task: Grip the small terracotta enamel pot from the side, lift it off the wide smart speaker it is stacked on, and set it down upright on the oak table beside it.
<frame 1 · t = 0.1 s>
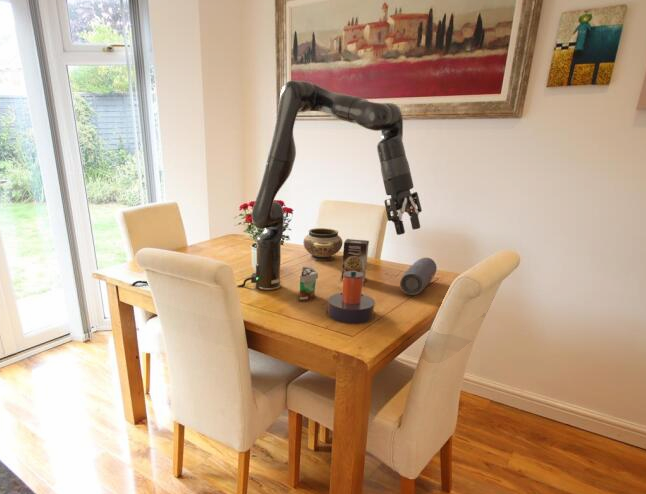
hand: (408, 231, 132), 31 cm above the table, tool tilted 20°, fingers open, 8 cm apart
ceramic bowl: (322, 258, 218), on the table
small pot: (351, 300, 154), point 5 cm above the table, touching wide smart speaker
bluetooth speaker: (417, 289, 177), on the table
coffee box: (353, 279, 189), on the table
wide smart speaker: (350, 314, 156), on the table
food container: (308, 297, 172), on the table
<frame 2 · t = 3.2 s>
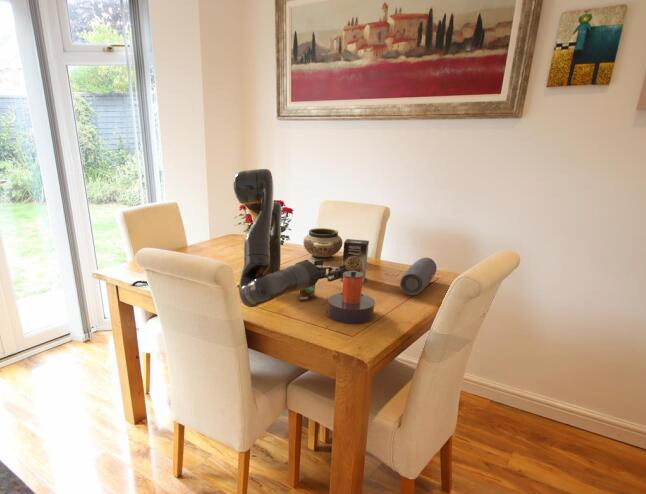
hand: (333, 265, 142), 20 cm above the table, tool horizontal, fingers open, 8 cm apart
nothing on the table moved.
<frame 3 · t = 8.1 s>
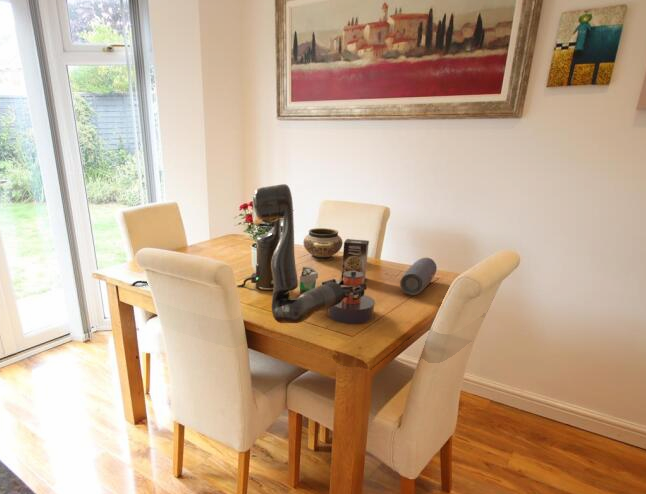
hand: (356, 283, 154), 11 cm above the table, tool horizontal, fingers closed on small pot, 6 cm apart
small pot: (351, 300, 154), point 5 cm above the table, touching gripper, wide smart speaker
everything else where it was.
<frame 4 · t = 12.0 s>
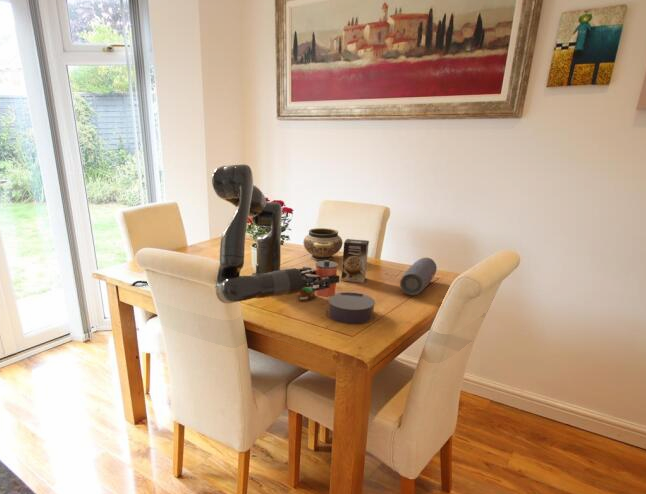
hand: (332, 275, 140), 18 cm above the table, tool horizontal, fingers closed on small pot, 6 cm apart
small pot: (324, 293, 141), point 12 cm above the table, touching gripper
everything else where it was.
when the fingers open (5 cm above the table, at t = 16.1 s): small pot stays where it is, on the table.
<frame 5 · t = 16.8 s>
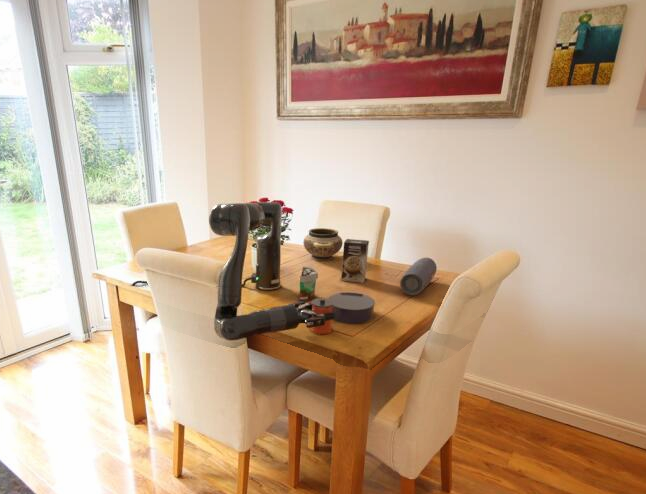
hand: (327, 310, 144), 6 cm above the table, tool horizontal, fingers open, 8 cm apart
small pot: (321, 329, 146), on the table
everything else where it was.
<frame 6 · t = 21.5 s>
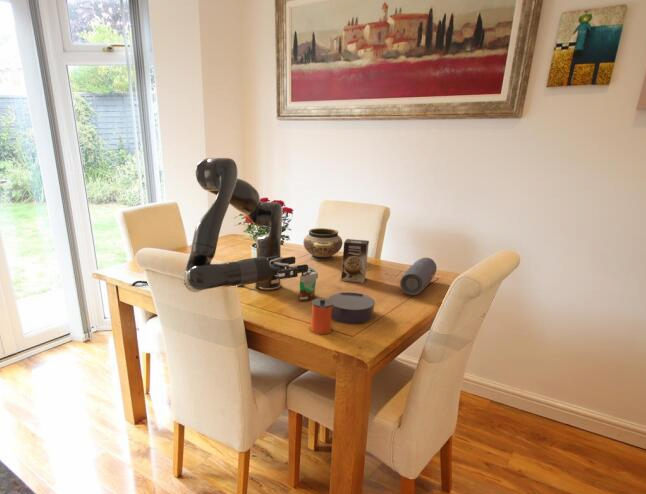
hand: (301, 263, 140), 21 cm above the table, tool horizontal, fingers open, 8 cm apart
nothing on the table moved.
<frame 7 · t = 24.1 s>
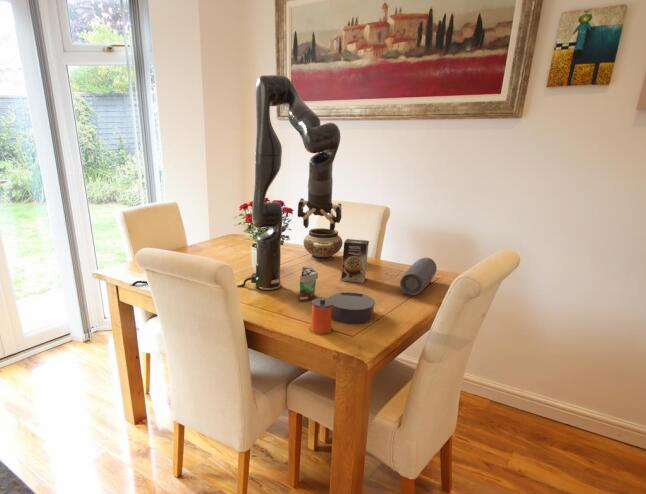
hand: (318, 228, 156), 27 cm above the table, tool tilted 25°, fingers open, 8 cm apart
nothing on the table moved.
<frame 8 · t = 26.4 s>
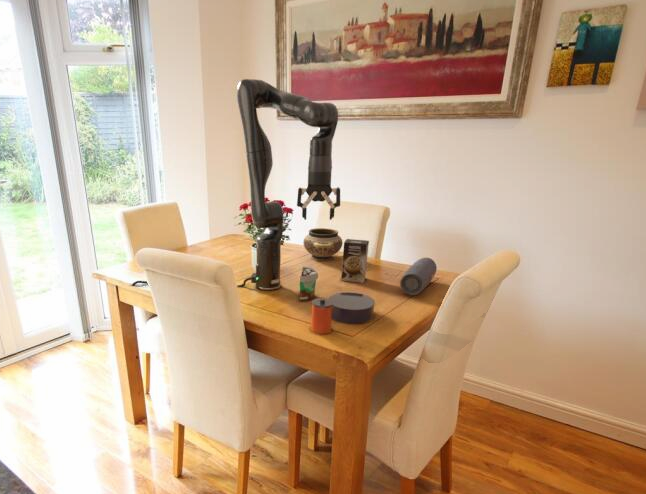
hand: (317, 219, 156), 30 cm above the table, tool pointing down, fingers open, 8 cm apart
nothing on the table moved.
at the end: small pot inside the target area (0.1 cm from its centre), on the table; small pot touching table; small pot tilted 0° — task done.
